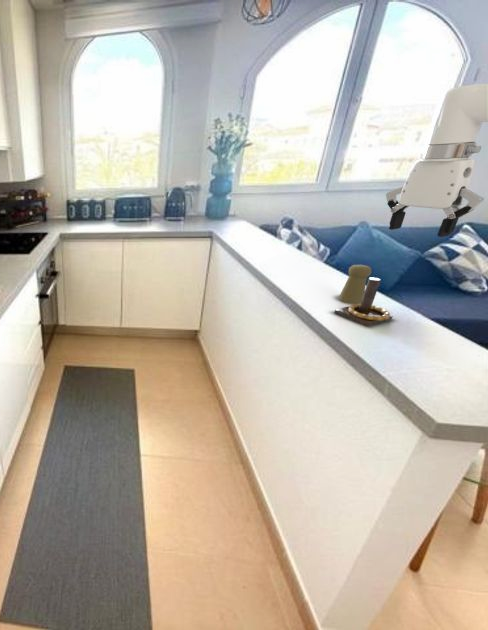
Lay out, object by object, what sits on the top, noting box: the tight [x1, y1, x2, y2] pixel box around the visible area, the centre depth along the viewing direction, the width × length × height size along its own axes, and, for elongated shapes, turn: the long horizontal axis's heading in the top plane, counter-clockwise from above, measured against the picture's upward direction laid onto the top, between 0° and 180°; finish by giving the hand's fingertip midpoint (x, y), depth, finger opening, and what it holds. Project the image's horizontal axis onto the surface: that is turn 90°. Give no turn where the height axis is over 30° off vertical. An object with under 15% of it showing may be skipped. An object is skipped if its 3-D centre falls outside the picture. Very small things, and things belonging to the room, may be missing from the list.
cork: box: [338, 264, 372, 305], centre depth 104 cm, size 6×6×11 cm
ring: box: [348, 303, 391, 321], centre depth 95 cm, size 9×9×1 cm
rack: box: [334, 277, 394, 327], centre depth 94 cm, size 9×9×11 cm
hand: (417, 232), depth 81 cm, fingers open, 9 cm apart
